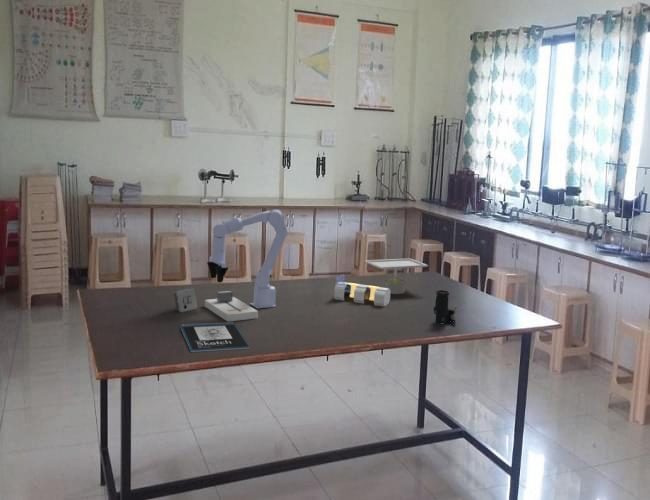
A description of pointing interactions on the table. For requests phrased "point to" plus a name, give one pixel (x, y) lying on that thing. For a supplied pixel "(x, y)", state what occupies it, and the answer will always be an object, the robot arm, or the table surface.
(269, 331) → the table surface
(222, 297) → the fader tab
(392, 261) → the solar panel model
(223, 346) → the sketchbook
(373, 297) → the gray yellow segmented block
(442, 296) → the scope
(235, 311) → the white flat rectangular block
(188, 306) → the electrical switch
